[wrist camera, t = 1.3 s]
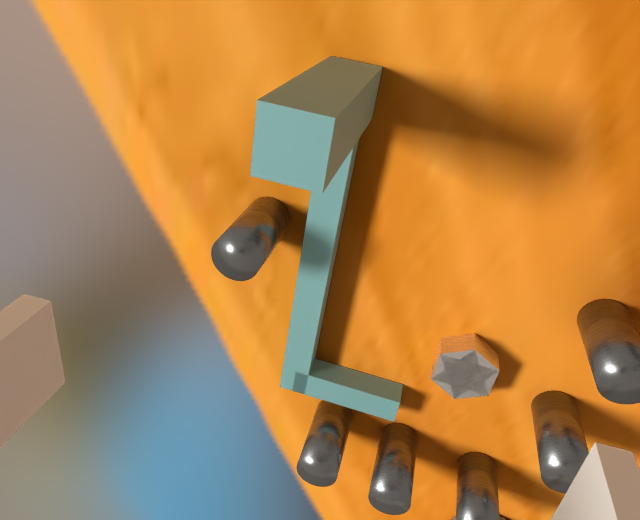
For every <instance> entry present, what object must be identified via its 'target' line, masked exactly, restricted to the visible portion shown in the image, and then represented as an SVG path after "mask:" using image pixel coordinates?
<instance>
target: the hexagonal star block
mask: <svg viewBox="0 0 640 520" xmlns="http://www.w3.org/2000/svg"><path fill="white" fill-rule="evenodd" d="M499 371H500V370H499V357H498V353H497V352H496V351H495V350H493V349H492V348H491V347H490V346H489V345H488V344H487V343H486V342H484V341H483V340H482V339H481V338H480V337H479V336H478V335H476V334H475V333H471V334H464V335H457V336H450V337H443V338H441V340H440V343H439V346H438V348H437V351H436V354H435V357H434V359H433V363H432V374H431V379H432V380H433V381H434V382H435V383H436V384H438V385H439V386H440V387H441V388H442V389H444V390H445V391H446V392H447V393H448V394H449V395H451V396H452V397H453V398H454V399H459V398H469V397H479V396H488V395H489V393H490V391H491V389H492V387H493V384H494V382H495V380H496V378H497V376H498V373H499Z"/></svg>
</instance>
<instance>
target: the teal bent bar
mask: <svg viewBox="0 0 640 520" xmlns="http://www.w3.org/2000/svg"><path fill="white" fill-rule="evenodd" d="M382 69H383V67H381V66H377V65H372V64H367V63H363V62H358V61H353V60H349V59H344V58H339V57H334V56H330V57H328V58H327V59H325V60H323V61H322V62H320V63H318V64H317V65H315V66H313V67H312V68H310V69H308V70H307V71H305V72H303V73H302V74H300V75H298V76H297V77H295V78H293V79H292V80H290V81H288V82H287V83H285V84H283V85H282V86H280V87H278V88H276V89H275V90H273V91H271V92H270V93H268V94H266V95H265V96H263V97H261V98H260V99H258V100H257V107H256V118H255V129H254V140H253V150H252V161H251V172H250V176H253V177H257V178H261V179H265V180H269V181H273V182H277V183H281V184H285V185H289V186H293V187H297V188H301V189H305V190H309V191H311V195H310V202H309V208H308V214H307V220H306V227H305V233H304V239H303V245H302V252H301V258H300V264H299V270H298V277H297V283H296V289H295V295H294V302H293V308H292V314H291V320H290V327H289V333H288V339H287V345H286V352H285V358H284V364H283V370H282V377H281V383H280V387H282V388H286V389H289V390H292V391H295V392H299V393H302V394H305V395H308V396H312V397H315V398H318V399H321V400H325V401H328V402H331V403H335V404H338V405H341V406H344V407H348V408H351V409H354V410H357V411H361V412H364V413H367V414H370V415H374V416H377V417H380V418H383V419H387V420H390V421H393V422H394V420H395V417H396V414H397V411H398V408H399V405H400V401H401V394H402V388H403V384H400V383H397V382H393V381H390V380H387V379H383V378H380V377H377V376H373V375H370V374H366V373H363V372H360V371H356V370H353V369H350V368H346V367H343V366H339V365H336V364H333V363H329V362H326V361H323V360H319V359H316V358H315V356H316V352H317V347H318V342H319V337H320V332H321V327H322V322H323V317H324V312H325V307H326V302H327V297H328V292H329V287H330V282H331V277H332V272H333V267H334V262H335V257H336V252H337V247H338V242H339V237H340V232H341V227H342V222H343V217H344V212H345V207H346V203H347V198H348V193H349V188H350V183H351V178H352V173H353V168H354V163H355V158H356V153H357V148H358V143H359V138H360V137H361V135H362V134H363V132H364V131H365V129H366V128H367V126H368V125H369V123H370V122H371V120H372V116H373V112H374V107H375V102H376V97H377V93H378V88H379V83H380V78H381V73H382Z"/></svg>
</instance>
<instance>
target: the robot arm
mask: <svg viewBox="0 0 640 520" xmlns="http://www.w3.org/2000/svg"><path fill="white" fill-rule="evenodd" d="M64 383H65V378H64V372H63V367H62V361H61V355H60V350H59V345H58V339H57V333H56V327H55V321H54V316H53V310H52V305H51V301H48V300H44V299H41V298H36V297H33V296H29V295H25V294H24V295H22V296H21V297H20V298H18V299H17V300H15V301H14V302H13V303H11V304H10V305H8V306H7V307H6V308H4V309H3V310H2V311H0V448H1V447H2V446H3V445H4V444H5V443H6V442H7V441H8V440H9V439H10V438H11V437H12V436H13V435H14V434H15V433H16V432H17V431H18V430H19V429H20V428H21V426H23V424H25V423H26V422H27V420H28V419H29V418H30V417H31V416H32V415H33V414H34V413H35V412H36V411H37V410H38V409H39V408H40V407H41V406H42V405H43V404H44V403H45V402H46V401H47V400H48V399H49V398H50V397H51V396H52V395H53V394H54V393H55V392H56V391H57V390H58V389H59V388H60V387H61V386H62V384H64ZM551 520H640V470H639V468H638V465H637V462H636V459H635V457H634V454H633V452H631V451H627V450H624V449H620V448H616V447H612V446H608V445H604V444H600V443H597V442H595V443H594V445H593V447H592V449H591V450H590V452H589V454H588V456H587V457H586V459H585V461H584V463H583V464H582V466H581V468H580V470H579V471H578V473H577V475H576V477H575V478H574V480H573V482H572V484H571V485H570V487H569V489H568V491H567V492H566V494H565V496H564V498H563V499H562V501H561V503H560V505H559V506H558V508H557V510H556V512H555V513H554V515H553V517H552V519H551Z"/></svg>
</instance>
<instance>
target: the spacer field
mask: <svg viewBox="0 0 640 520" xmlns="http://www.w3.org/2000/svg"><path fill="white" fill-rule="evenodd" d="M289 225H290V215H289V212H288V210H287V208H286V207H285V206H284V205H283V204H282V203H281V202H280V201H278V200H277V199H275V198H272V197H261V198H258V199H256V200H255V201H254V202H253V203H252V204H251V205H250V206H249V207H248V208H247V209H246V210H245V211H244V212H243V213H242V214H241V215H240V216H239V217H238V218H237V220H236V221H235V222H234V223H233V224H232V225H231V226H230V227H229V228H228V229H227V230H226V231H225V232H224V233H223V234H222V235H221V236H220V237H219V239H218V240H217V241H216V242H215V243H214V245H213V247H212V251H211V256H212V260H213V263H214V265H215V267H216V268H217V269H218V270H219V272H221V273H222V274H223V275H224V276H226V277H227V278H230V279H232V280H236V281H245V280H249V279H251V278H252V277H254V276H255V275H256V273H257V272H258V271H259V269H260V268H261V266H262V265H263V264H264V262H265V261H266V259H267V258H268V257H269V255H270V254H271V252H272V251H273V249H274V248H275V247H276V245H277V244H278V242H279V241H280V240H281V238H282V237H283V235H284V234H285V233H286V231H287V230H288V228H289ZM577 324H578V327H579V331H580V334H581V337H582V340H583V344H584V347H585V350H586V353H587V357H588V360H589V363H590V366H591V369H592V373H593V376H594V379H595V382H596V386H597V389H598V391H599V392H600V394H601V395H602V396H603V397H604V398H606V399H608V400H610V401H612V402H615V403H619V404H635V403H640V334H639V332H638V330H637V328H636V326H635V324H634V322H633V319H632V317H631V315H630V313H629V311H628V309H627V308H626V307H625V306H624V305H623V304H622V303H620V302H618V301H615V300H611V299H599V300H595V301H592V302H590V303H588V304H586V305H585V306H584V307H583V308H582V309H581V310H580V311H579V313H578V316H577ZM531 409H532V416H533V423H534V430H535V437H536V444H537V451H538V458H539V465H540V472H541V478H542V480H543V482H544V483H545V485H546V486H548V487H549V488H551V489H552V490H555V491H557V492H561V493H566V492H567V491H568V489H569V487H570V485H571V484H572V482H573V480H574V478H575V477H576V475H577V473H578V471H579V470H580V468H581V466H582V464H583V463H584V461H585V459H586V457H587V456H588V454H589V452H588V448H587V444H586V440H585V436H584V432H583V428H582V424H581V420H580V416H579V412H578V408H577V404H576V402H575V400H574V399H573V398H572V397H571V396H570V395H568V394H566V393H563V392H560V391H547V392H543V393H541V394H539V395H537V396H536V397H535V398H534V399H533V401H532V404H531ZM352 418H353V412H352V410H351V408H348V407H344V406H341V405H338V404H335V403H331V402H328V401H325V400H323V401H321V402H320V403H319V405H318V407H317V410H316V413H315V416H314V418H313V421H312V424H311V427H310V430H309V433H308V436H307V438H306V441H305V444H304V447H303V450H302V453H301V456H300V458H299V461H298V464H297V472H298V474H299V475H300V477H301V478H302V479H303V480H305V481H306V482H308V483H310V484H312V485H315V486H320V487H326V486H330V485H332V484H333V483H334V482H335V481H336V479H337V475H338V472H339V468H340V464H341V460H342V456H343V453H344V449H345V445H346V441H347V437H348V434H349V430H350V426H351V422H352ZM417 442H418V437H417V434H416V433H415V431H414V430H413V429H412V428H410V427H409V426H407V425H404V424H400V423H391V424H388V425H386V426H384V427H383V428H382V430H381V434H380V439H379V444H378V449H377V455H376V460H375V465H374V470H373V475H372V480H371V486H370V491H369V501H370V503H371V505H372V506H373V507H374V508H376V509H377V510H379V511H380V512H383V513H386V514H390V515H400V514H403V513H405V512H407V511H408V510H409V508H410V505H411V496H412V487H413V478H414V469H415V460H416V451H417ZM456 520H500V518H499V500H498V482H497V466H496V463H495V461H494V460H493V459H492V458H491V457H490V456H488V455H486V454H483V453H479V452H470V453H466V454H464V455H462V456H461V457H460V458H459V459H458V464H457V506H456Z"/></svg>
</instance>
